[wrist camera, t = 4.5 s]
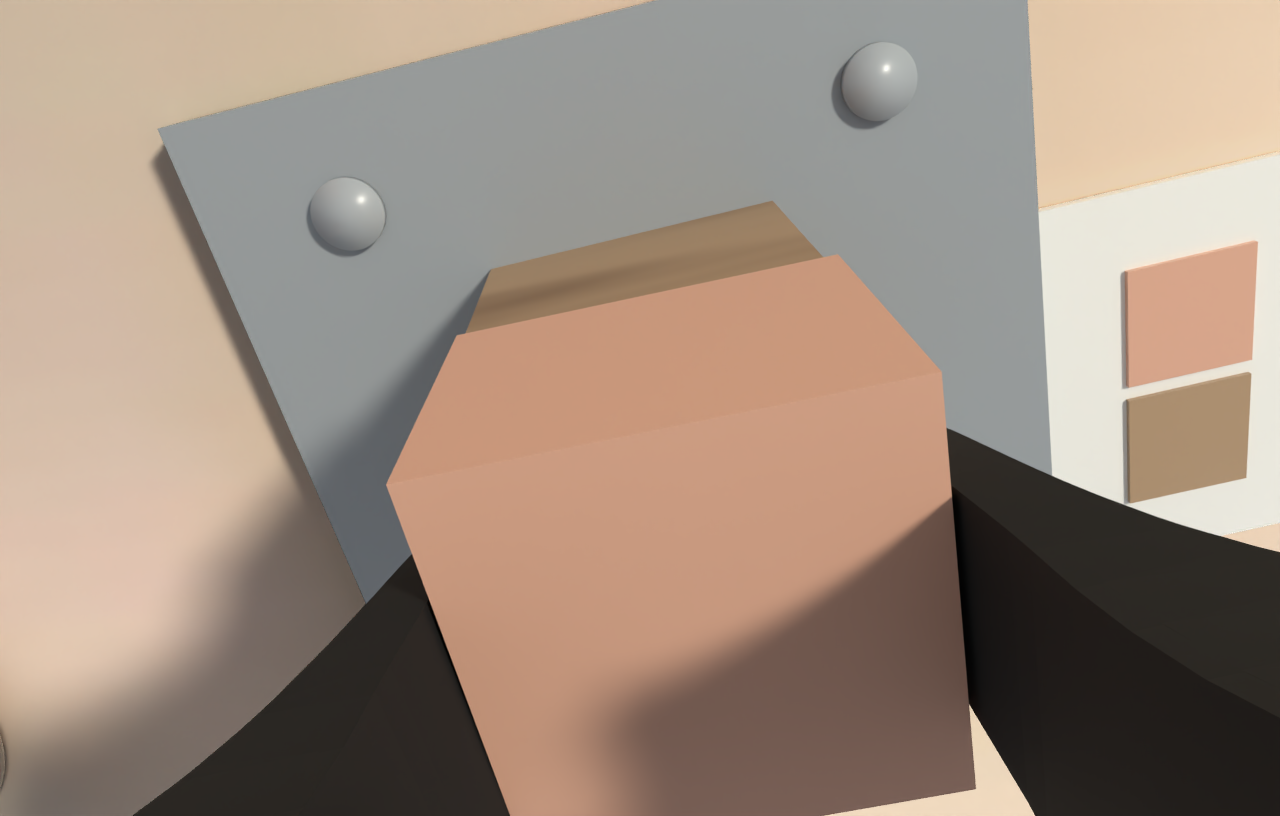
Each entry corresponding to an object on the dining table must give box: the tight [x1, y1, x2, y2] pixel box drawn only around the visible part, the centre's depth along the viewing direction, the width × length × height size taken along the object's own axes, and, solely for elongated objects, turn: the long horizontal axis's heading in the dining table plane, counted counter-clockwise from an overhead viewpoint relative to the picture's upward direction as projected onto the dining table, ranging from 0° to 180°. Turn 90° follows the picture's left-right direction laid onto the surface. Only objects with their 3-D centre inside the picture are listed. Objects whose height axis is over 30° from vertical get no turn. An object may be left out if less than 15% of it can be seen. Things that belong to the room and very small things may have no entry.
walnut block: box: [466, 201, 823, 333], centre depth 15 cm, size 5×5×4 cm
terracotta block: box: [386, 254, 976, 816], centre depth 11 cm, size 5×5×4 cm
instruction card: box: [1038, 151, 1280, 536], centre depth 18 cm, size 8×6×1 cm
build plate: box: [158, 0, 1052, 603], centre depth 17 cm, size 14×14×1 cm
